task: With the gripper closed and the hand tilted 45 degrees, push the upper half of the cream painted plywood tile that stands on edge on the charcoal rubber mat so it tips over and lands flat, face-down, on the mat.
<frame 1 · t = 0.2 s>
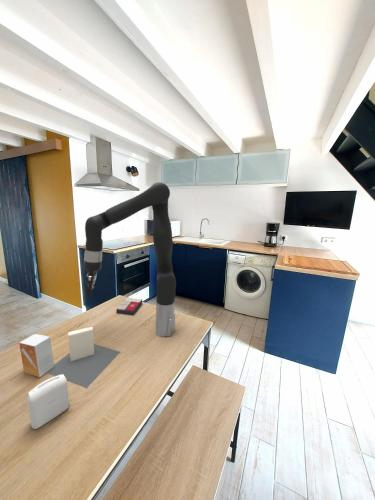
hand: (90, 292, 99), 23 cm above the table, tool pointing down, fingers open, 8 cm apart
small box: (39, 370, 81), on the table, touching charcoal mat
charcoal mat: (85, 362, 86), on the table
cream tile: (82, 355, 89), point 1 cm above the table, touching charcoal mat
red and black box: (130, 309, 132), on the table
photo printer: (51, 415, 65), on the table
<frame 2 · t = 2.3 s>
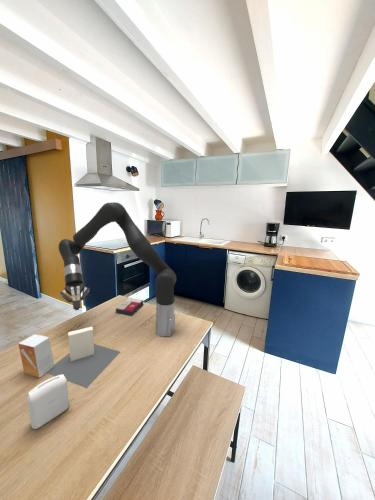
hand: (77, 309, 94), 17 cm above the table, tool tilted 45°, fingers closed
small box: (39, 370, 81), on the table, touching charcoal mat
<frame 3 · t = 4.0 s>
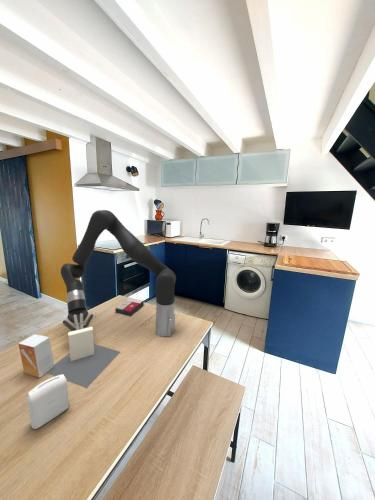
hand: (80, 338, 91), 6 cm above the table, tool tilted 45°, fingers closed
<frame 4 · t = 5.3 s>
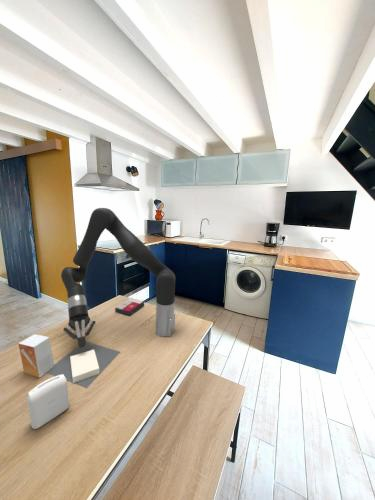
hand: (82, 347, 86), 6 cm above the table, tool tilted 45°, fingers closed
cream tile: (82, 355, 87), point 2 cm above the table, tilted 90°, touching charcoal mat
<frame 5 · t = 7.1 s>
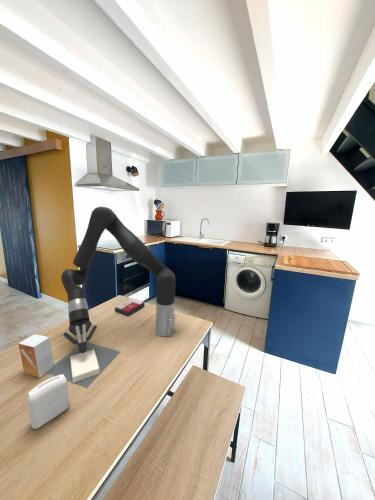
hand: (83, 352, 83), 6 cm above the table, tool tilted 45°, fingers closed
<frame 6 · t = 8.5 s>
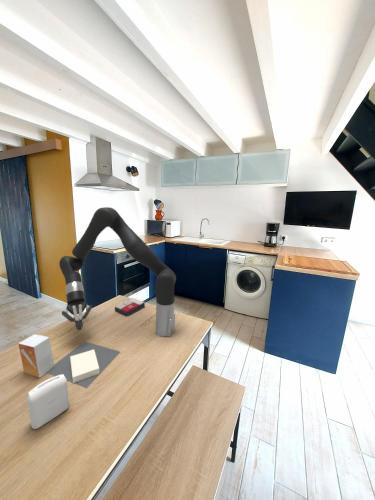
hand: (79, 329, 92), 10 cm above the table, tool tilted 45°, fingers closed
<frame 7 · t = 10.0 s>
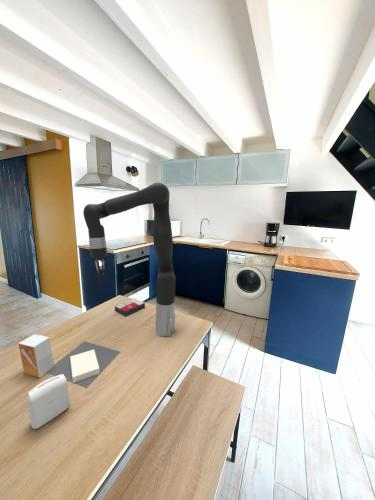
hand: (101, 281, 103), 27 cm above the table, tool pointing down, fingers closed
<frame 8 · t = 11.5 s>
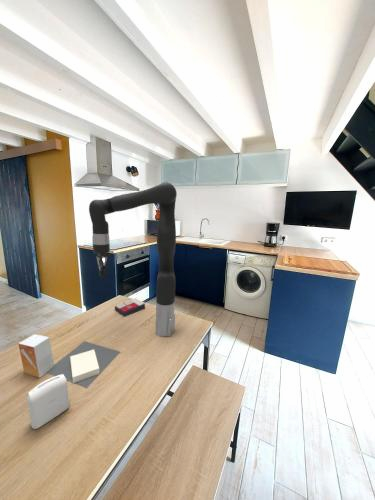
hand: (102, 276, 103), 29 cm above the table, tool pointing down, fingers closed
at the end: cream tile tilted 90°; cream tile inside the target area on the charcoal mat (2.6 cm from its centre), point 1.8 cm above the charcoal mat's base; cream tile touching charcoal mat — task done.
